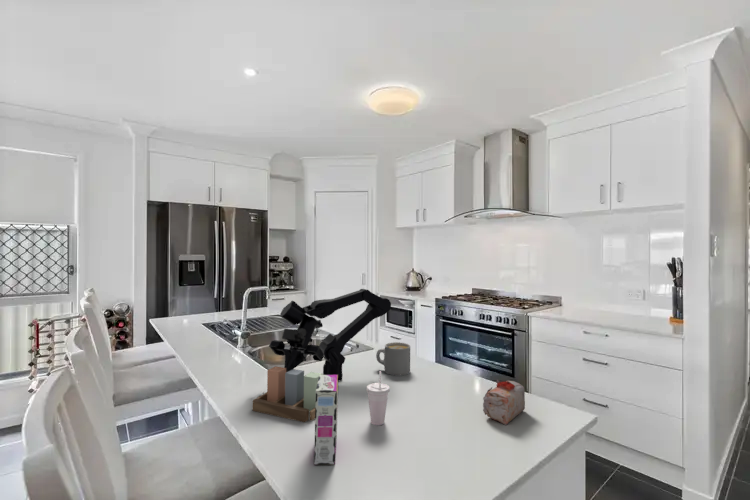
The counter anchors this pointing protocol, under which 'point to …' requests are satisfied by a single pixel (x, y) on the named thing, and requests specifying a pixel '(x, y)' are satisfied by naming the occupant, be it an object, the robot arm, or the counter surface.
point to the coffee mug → (395, 358)
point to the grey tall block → (294, 386)
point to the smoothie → (377, 401)
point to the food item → (504, 401)
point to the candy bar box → (326, 420)
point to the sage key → (310, 390)
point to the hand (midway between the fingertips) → (285, 373)
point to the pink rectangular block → (275, 383)
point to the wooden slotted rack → (283, 408)
